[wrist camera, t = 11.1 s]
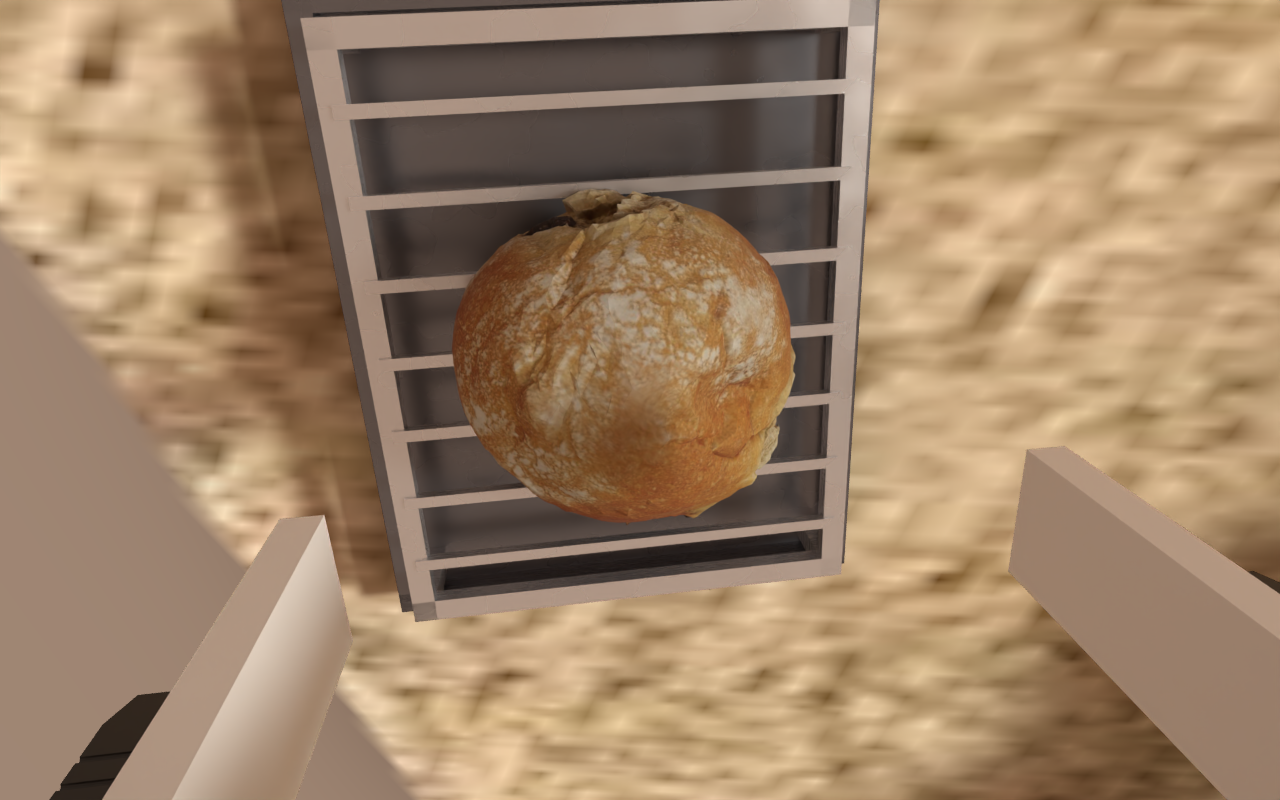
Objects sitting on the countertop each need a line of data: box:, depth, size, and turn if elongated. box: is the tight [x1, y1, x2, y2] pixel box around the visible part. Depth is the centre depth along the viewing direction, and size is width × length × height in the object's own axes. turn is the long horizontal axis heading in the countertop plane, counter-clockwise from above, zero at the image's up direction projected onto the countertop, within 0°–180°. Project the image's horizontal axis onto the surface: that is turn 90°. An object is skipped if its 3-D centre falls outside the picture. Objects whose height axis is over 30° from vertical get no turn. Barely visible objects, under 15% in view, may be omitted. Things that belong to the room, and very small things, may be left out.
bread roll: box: [452, 189, 796, 525], centre depth 23 cm, size 10×10×8 cm
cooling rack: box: [281, 0, 880, 622], centre depth 27 cm, size 18×22×4 cm
